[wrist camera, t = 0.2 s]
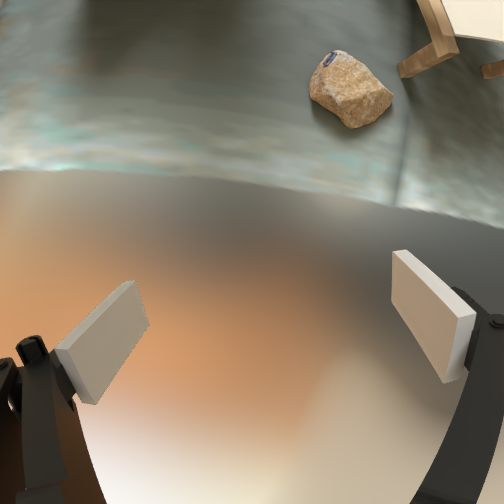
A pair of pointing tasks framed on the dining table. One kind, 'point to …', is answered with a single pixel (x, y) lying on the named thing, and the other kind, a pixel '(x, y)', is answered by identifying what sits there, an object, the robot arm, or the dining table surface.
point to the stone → (349, 90)
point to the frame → (439, 45)
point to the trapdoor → (476, 18)
